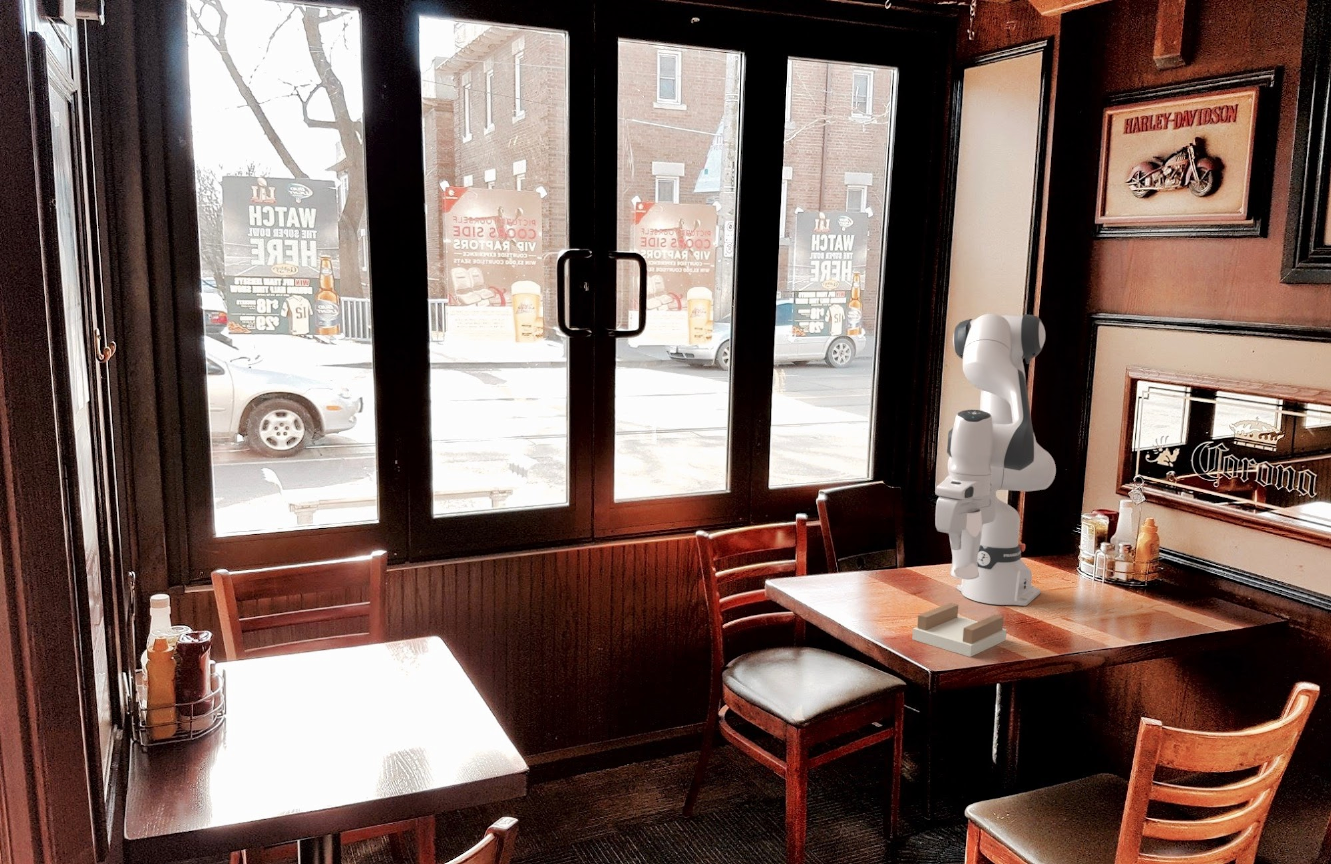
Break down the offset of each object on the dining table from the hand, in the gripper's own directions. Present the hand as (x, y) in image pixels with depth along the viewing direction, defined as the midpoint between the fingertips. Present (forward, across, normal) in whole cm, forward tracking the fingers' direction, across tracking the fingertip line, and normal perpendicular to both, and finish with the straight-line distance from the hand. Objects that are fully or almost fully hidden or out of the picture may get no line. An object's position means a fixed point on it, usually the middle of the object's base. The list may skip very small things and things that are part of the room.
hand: (964, 546), depth 217 cm
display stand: (+21, 0, 0) cm, 21 cm away
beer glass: (+7, 0, 0) cm, 7 cm away
